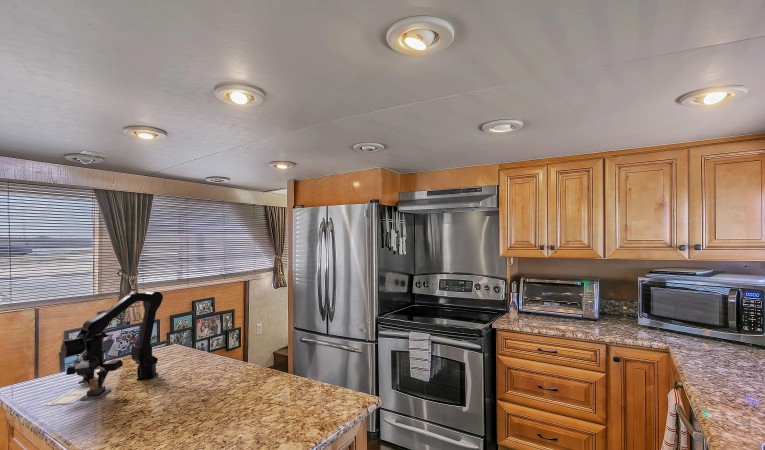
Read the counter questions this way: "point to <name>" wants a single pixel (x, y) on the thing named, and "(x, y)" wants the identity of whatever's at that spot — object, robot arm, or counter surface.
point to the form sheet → (70, 396)
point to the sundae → (79, 362)
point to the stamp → (95, 387)
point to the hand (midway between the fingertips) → (96, 387)
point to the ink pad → (97, 396)
